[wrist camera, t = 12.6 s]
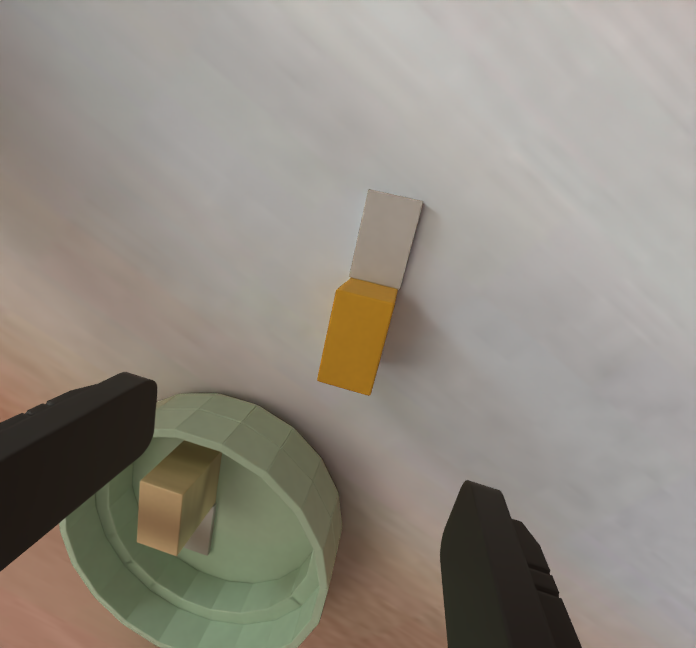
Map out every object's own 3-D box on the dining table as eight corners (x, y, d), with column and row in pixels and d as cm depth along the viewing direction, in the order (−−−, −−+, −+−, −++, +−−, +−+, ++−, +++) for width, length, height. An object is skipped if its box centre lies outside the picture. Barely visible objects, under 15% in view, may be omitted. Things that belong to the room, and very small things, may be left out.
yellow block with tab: (380, 364, 20) (372, 397, 16) (333, 351, 20) (314, 380, 16) (423, 201, 17) (427, 193, 13) (368, 190, 18) (357, 177, 14)
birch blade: (185, 436, 23) (137, 480, 19) (224, 449, 23) (184, 495, 19) (175, 539, 25) (131, 596, 21) (210, 551, 25) (172, 611, 21)
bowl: (125, 359, 23) (54, 391, 18) (368, 431, 21) (357, 486, 17) (119, 547, 28) (61, 609, 23) (317, 618, 26) (297, 701, 21)
